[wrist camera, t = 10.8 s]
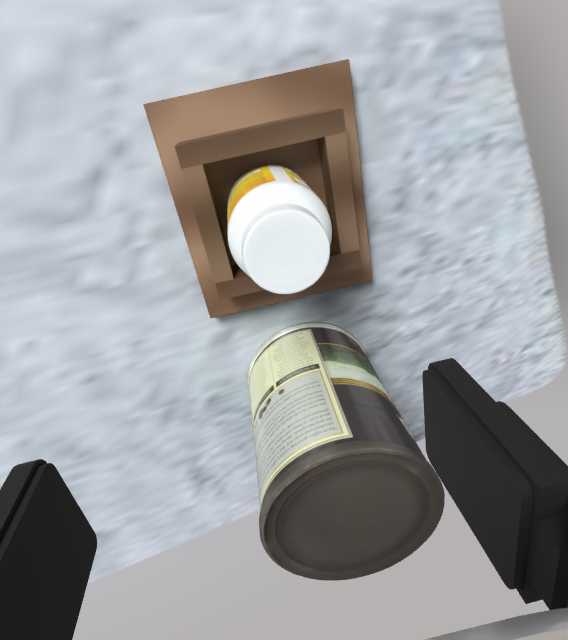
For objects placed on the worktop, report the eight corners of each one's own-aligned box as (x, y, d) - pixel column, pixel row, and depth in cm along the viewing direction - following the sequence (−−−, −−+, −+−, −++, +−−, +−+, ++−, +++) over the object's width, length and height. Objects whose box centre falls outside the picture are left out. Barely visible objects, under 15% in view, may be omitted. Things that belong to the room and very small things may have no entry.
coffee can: (372, 315, 34) (459, 440, 21) (364, 417, 39) (432, 568, 26) (241, 326, 33) (254, 464, 20) (249, 430, 38) (264, 593, 25)
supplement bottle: (315, 167, 27) (357, 199, 19) (303, 249, 29) (336, 310, 21) (228, 158, 26) (232, 187, 18) (224, 243, 28) (225, 305, 20)
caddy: (367, 274, 32) (383, 294, 29) (210, 311, 32) (209, 335, 29) (343, 60, 26) (361, 54, 22) (146, 104, 25) (135, 104, 22)
